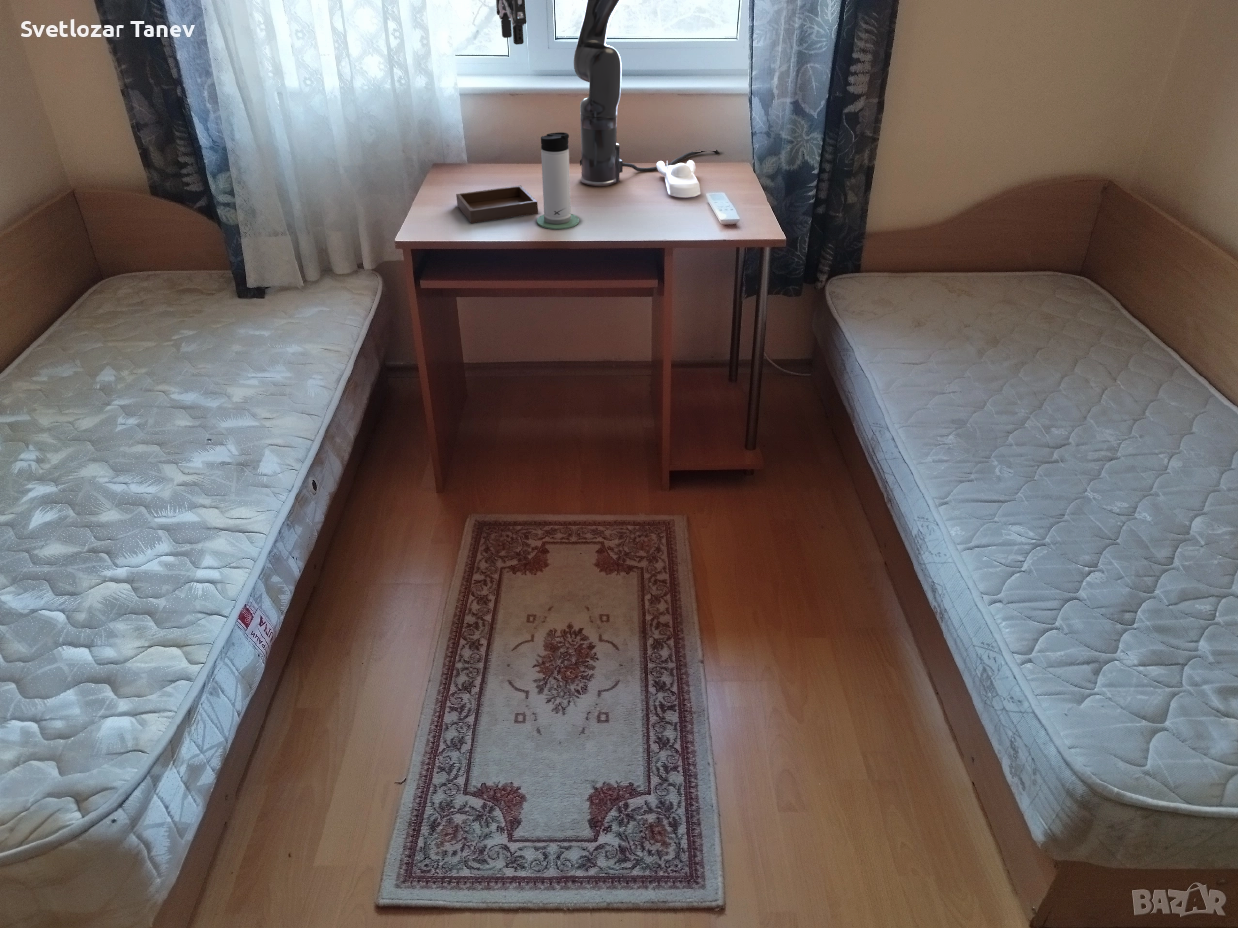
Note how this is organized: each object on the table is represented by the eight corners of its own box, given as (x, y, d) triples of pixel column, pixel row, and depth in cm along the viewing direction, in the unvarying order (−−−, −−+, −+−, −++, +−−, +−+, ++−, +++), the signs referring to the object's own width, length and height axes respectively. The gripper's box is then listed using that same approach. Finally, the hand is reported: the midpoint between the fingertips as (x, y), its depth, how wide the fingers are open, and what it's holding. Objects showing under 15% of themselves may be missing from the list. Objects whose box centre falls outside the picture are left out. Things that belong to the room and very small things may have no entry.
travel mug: (562, 227, 202) (559, 138, 191) (539, 221, 205) (534, 134, 193) (577, 218, 207) (575, 132, 195) (554, 213, 209) (551, 127, 198)
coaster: (570, 211, 212) (570, 210, 211) (585, 225, 204) (585, 224, 204) (531, 217, 208) (531, 215, 208) (545, 232, 201) (545, 230, 201)
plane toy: (665, 200, 218) (665, 177, 215) (655, 174, 234) (656, 152, 231) (706, 199, 219) (707, 176, 216) (694, 173, 235) (695, 151, 232)
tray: (521, 197, 220) (520, 185, 218) (538, 213, 210) (537, 201, 209) (457, 206, 214) (456, 194, 213) (471, 223, 205) (470, 211, 203)
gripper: (534, -37, 188) (538, 45, 198) (513, -44, 199) (518, 34, 208) (501, -35, 186) (506, 48, 195) (481, -43, 196) (488, 36, 206)
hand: (512, 40), depth 202 cm, fingers open, 8 cm apart
